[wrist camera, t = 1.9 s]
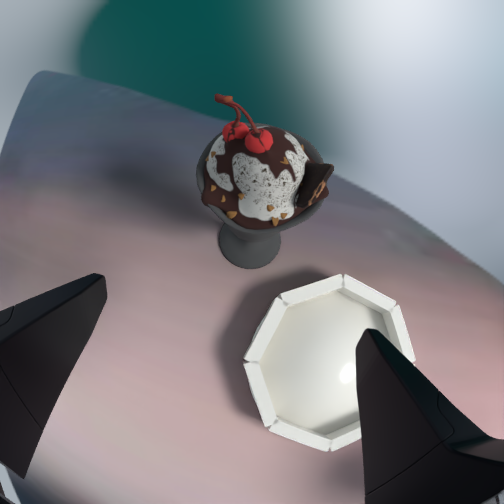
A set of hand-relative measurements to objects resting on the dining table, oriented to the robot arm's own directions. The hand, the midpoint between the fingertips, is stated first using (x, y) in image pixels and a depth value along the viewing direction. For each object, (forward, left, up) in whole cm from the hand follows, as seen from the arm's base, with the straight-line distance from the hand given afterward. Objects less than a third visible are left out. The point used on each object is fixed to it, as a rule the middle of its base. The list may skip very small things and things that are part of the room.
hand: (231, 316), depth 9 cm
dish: (+7, -5, -13) cm, 15 cm away
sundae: (+4, +7, -13) cm, 15 cm away
